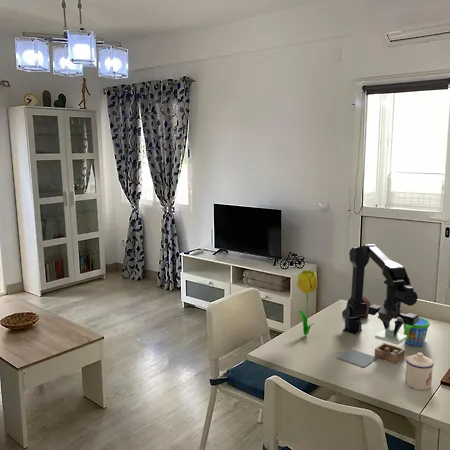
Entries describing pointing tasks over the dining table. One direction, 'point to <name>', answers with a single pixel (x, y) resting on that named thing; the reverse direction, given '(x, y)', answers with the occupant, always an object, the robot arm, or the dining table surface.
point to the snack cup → (416, 332)
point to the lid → (391, 336)
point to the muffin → (367, 305)
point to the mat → (357, 358)
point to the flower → (306, 285)
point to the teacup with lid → (418, 371)
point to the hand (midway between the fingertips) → (391, 334)
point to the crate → (390, 353)
